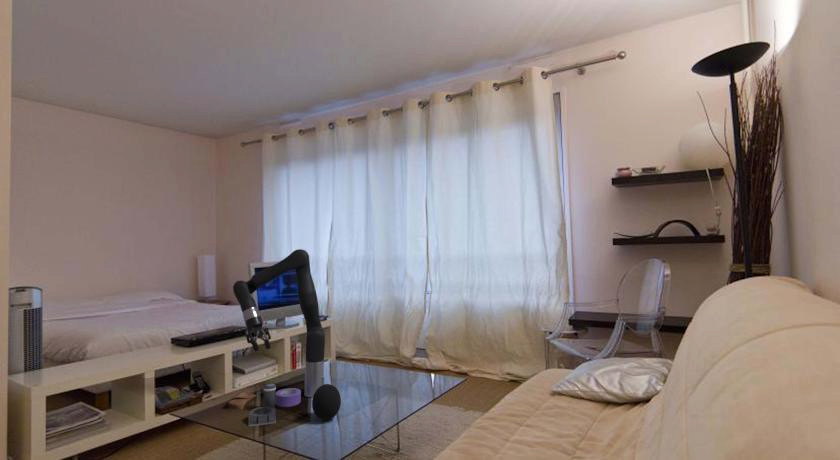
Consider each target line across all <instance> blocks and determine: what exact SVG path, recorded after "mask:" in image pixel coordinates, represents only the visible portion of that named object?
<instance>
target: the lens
mask: <svg viewBox="0 0 840 460" xmlns="http://www.w3.org/2000/svg"><path fill="white" fill-rule="evenodd" d="M276 389H277V385H276V383H266V384H264V385H263V399H262V407H272V408H275V409H276V404H275V397H276V392H277V391H276Z"/></svg>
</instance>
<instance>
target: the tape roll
mask: <svg viewBox="0 0 840 460" xmlns="http://www.w3.org/2000/svg"><path fill="white" fill-rule="evenodd" d="M301 395H302V390H301V389H299V388H296V387H294V388H293V387H288V388H282V389H279V390H277V391H276V393H275V406H277V407H285V408H288V407H289V408H290V407H294V406H298V405H299V404H300V403H301V401H302V399H301V397H302V396H301Z"/></svg>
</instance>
